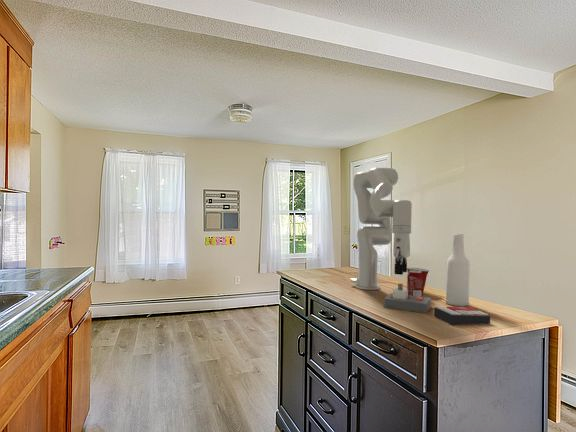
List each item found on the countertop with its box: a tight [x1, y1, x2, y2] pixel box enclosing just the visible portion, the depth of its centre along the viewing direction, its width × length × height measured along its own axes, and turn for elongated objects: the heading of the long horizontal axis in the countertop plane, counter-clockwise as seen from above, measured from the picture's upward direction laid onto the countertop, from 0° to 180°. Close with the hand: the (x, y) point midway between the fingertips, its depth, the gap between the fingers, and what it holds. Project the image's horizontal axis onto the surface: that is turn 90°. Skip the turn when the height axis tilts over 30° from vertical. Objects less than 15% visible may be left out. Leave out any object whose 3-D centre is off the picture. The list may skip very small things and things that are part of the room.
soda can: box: [406, 270, 424, 297], centre depth 165 cm, size 7×7×12 cm
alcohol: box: [445, 233, 470, 307], centre depth 153 cm, size 9×9×30 cm
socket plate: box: [383, 292, 432, 314], centre depth 147 cm, size 16×12×4 cm
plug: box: [392, 282, 408, 300], centre depth 148 cm, size 5×5×8 cm
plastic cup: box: [406, 266, 430, 293], centre depth 175 cm, size 11×11×12 cm
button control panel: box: [433, 306, 491, 326], centre depth 129 cm, size 11×4×15 cm
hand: (400, 272), depth 148 cm, fingers open, 6 cm apart
